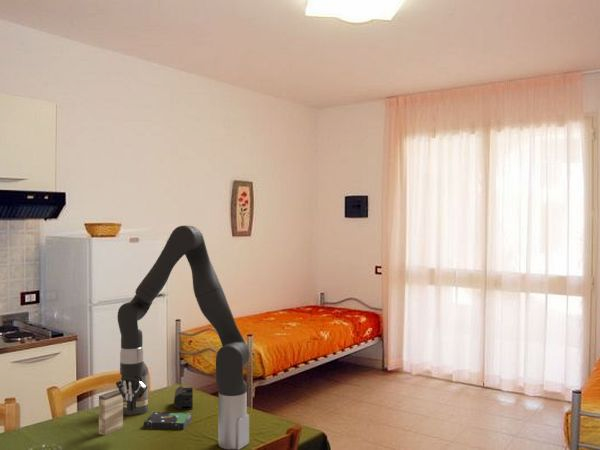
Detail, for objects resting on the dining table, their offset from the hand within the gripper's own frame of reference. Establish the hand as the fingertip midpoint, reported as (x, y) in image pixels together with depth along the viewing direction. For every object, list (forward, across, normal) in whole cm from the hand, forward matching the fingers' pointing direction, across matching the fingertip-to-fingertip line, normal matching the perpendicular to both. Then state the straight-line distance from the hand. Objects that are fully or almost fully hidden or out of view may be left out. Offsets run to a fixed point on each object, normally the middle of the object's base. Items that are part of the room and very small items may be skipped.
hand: (131, 410), depth 178 cm
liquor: (+9, +17, -18) cm, 26 cm away
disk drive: (+9, -3, -15) cm, 18 cm away
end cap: (+9, +4, -31) cm, 32 cm away
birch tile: (+9, +10, 0) cm, 13 cm away
